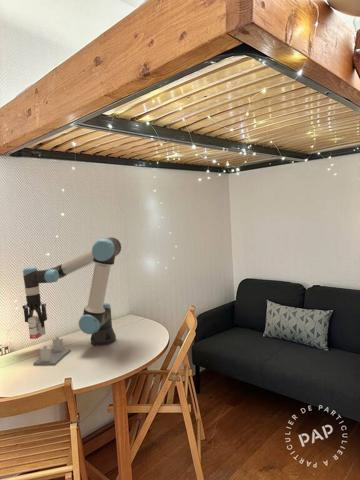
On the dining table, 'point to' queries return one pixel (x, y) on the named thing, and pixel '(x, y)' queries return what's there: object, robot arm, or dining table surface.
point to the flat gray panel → (52, 353)
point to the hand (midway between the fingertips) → (37, 333)
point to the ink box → (34, 327)
